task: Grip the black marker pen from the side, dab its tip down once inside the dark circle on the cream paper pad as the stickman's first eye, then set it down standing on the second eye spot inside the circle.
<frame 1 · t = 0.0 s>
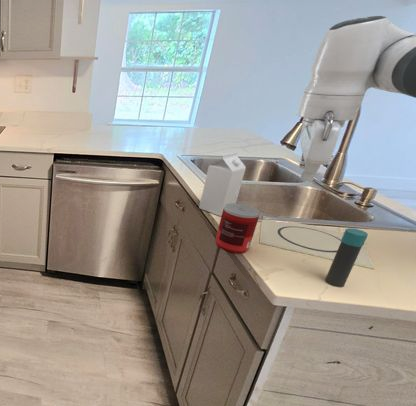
hand: (305, 173, 78), 24 cm above the worktop, tool pointing down, fingers open, 8 cm apart
marker: (334, 282, 82), on the worktop
paper pad: (310, 239, 99), on the worktop
canned food: (230, 247, 98), on the worktop
milk carton: (215, 210, 118), on the worktop
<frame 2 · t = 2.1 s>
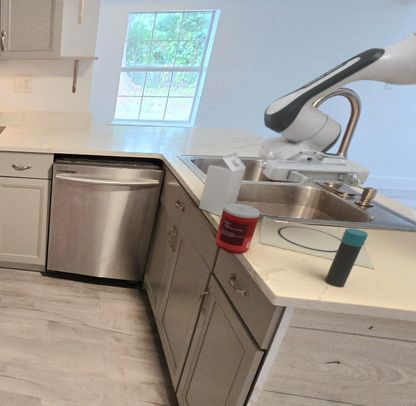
hand: (331, 182, 85), 20 cm above the worktop, tool horizontal, fingers open, 8 cm apart
nothing on the worktop moved.
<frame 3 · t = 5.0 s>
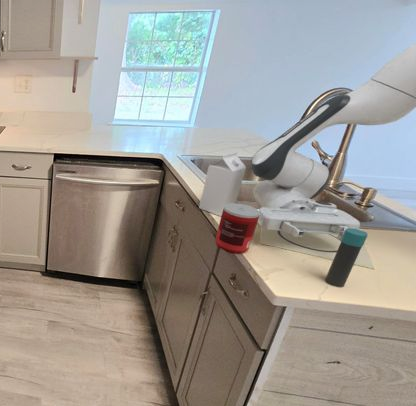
hand: (323, 235, 86), 7 cm above the worktop, tool horizontal, fingers open, 8 cm apart
nothing on the worktop moved.
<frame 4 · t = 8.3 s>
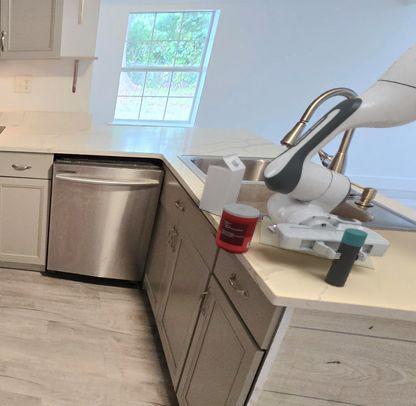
hand: (349, 257, 78), 7 cm above the worktop, tool horizontal, fingers closed on marker, 3 cm apart
marker: (334, 282, 82), on the worktop, touching gripper
everything else where it was.
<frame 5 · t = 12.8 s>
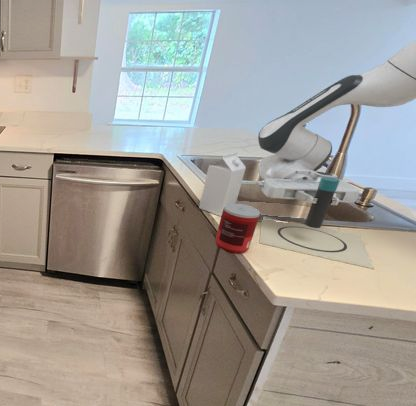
hand: (324, 201, 92), 12 cm above the worktop, tool horizontal, fingers closed on marker, 3 cm apart
marker: (312, 225, 96), point 5 cm above the worktop, touching gripper
everything else where it was.
when the fingers open (8 cm above the worktop, at t = 17.7 s): marker stays where it is, resting on paper pad.
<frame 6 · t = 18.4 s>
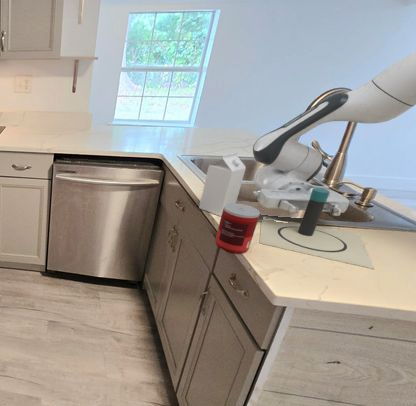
hand: (316, 211, 98), 8 cm above the worktop, tool horizontal, fingers open, 8 cm apart
marker: (305, 233, 102), resting on paper pad
everything else where it was.
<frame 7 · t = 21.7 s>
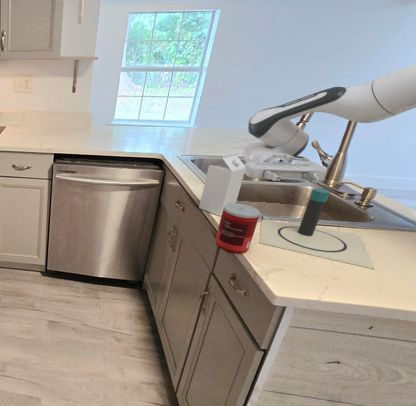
hand: (296, 179, 107), 12 cm above the worktop, tool horizontal, fingers open, 8 cm apart
nothing on the worktop moved.
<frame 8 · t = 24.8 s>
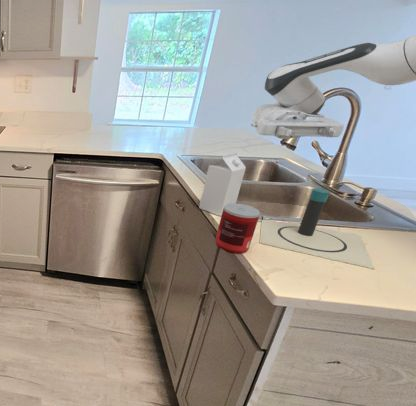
hand: (311, 134, 102), 26 cm above the worktop, tool horizontal, fingers open, 8 cm apart
nothing on the worktop moved.
at the end: marker inside the target area on the paper pad (2.7 cm from its centre), point 0.4 cm above the paper pad's base; marker tilted 0°; the gripper is holding nothing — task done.
